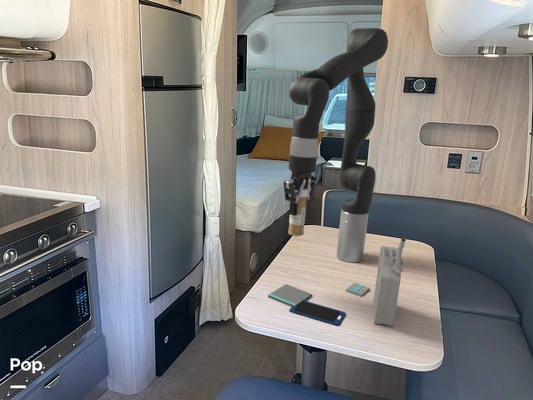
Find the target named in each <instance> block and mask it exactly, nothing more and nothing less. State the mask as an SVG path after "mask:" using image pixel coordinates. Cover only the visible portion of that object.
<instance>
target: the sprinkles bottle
mask: <svg viewBox="0 0 533 400" xmlns="http://www.w3.org/2000/svg"><path fill="white" fill-rule="evenodd" d="M294 191H296V192H298V191H299V190H295V189H294ZM307 196H308V190H307V189H304V190H303V191H302V195H300V196H299V200H298V210H297V215H296V216H293V215H290V214H289V222H288V223H289V224H288V225H289V226H288V230H287V231H288V232H287V233H288V235H290V236H293V237H301V236H303V235H304V234H305V233H304V231H305V222H306V213H307V211H306V201H307ZM295 197H296V194H295Z"/></svg>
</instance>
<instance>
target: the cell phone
mask: <svg viewBox="0 0 533 400" xmlns="http://www.w3.org/2000/svg"><path fill="white" fill-rule="evenodd" d="M288 312H290V313H291V314H295V315H299V316H301V317H304V318H309V319H312V320H315V321H318V322H322V323H325V324H328V325H332V326H335V327H339V326H340V325H341V323H342V322H343V320H344V319H345V318H346V315H347V313H346V312H345V311H342V310H339V309H336V308H332V307H329V306H324V305H322V304H317V303H314V302H311V301H308V300H305V301H302V302H301V303H299V304H298V305H297V306H295V307H294V306H292V307H291V306H290V308H289V311H288Z"/></svg>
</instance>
